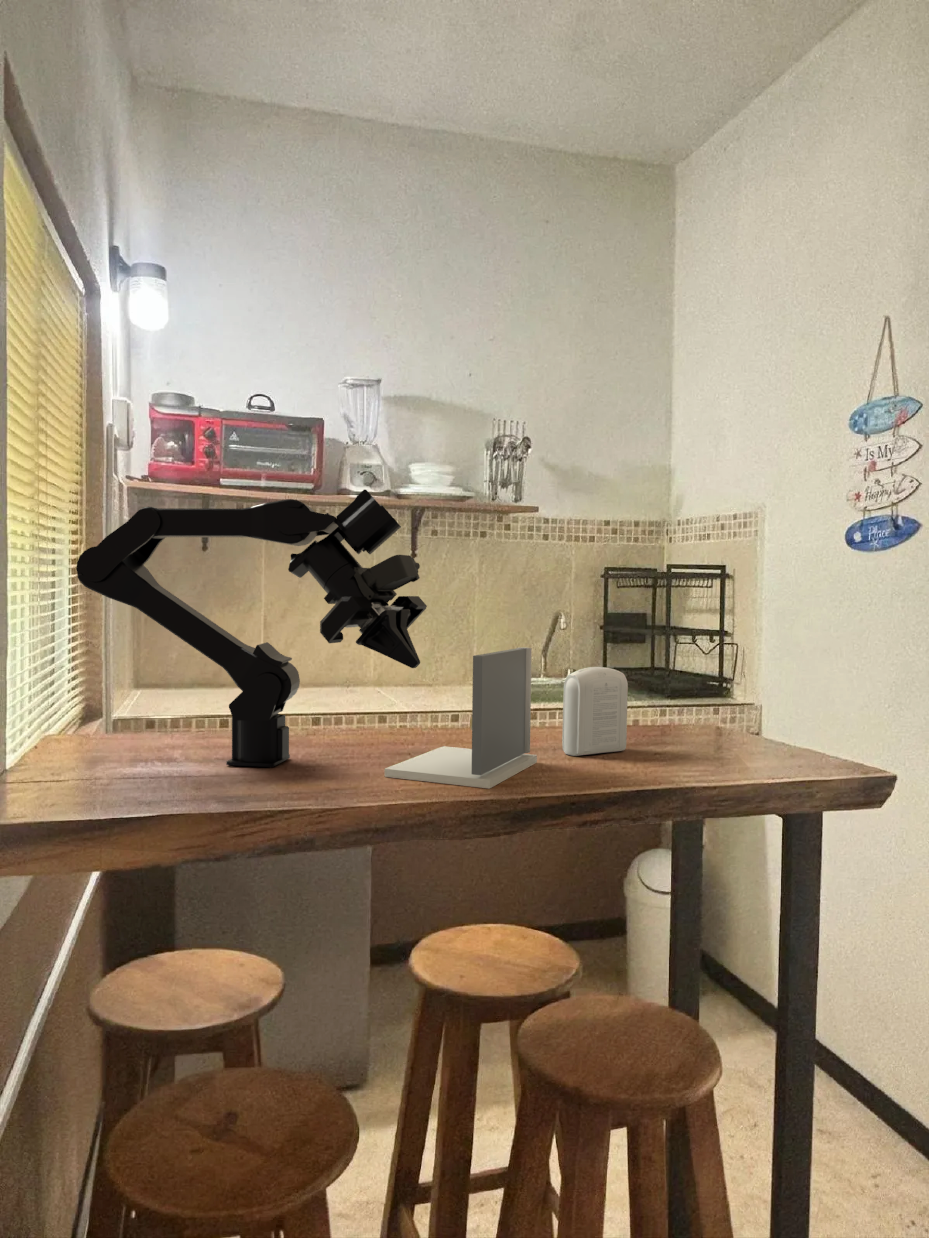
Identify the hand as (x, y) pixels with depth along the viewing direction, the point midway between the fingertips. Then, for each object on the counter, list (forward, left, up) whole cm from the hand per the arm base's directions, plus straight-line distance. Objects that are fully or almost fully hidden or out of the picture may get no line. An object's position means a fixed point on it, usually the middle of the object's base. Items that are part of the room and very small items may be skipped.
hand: (416, 665), depth 108 cm
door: (+10, +2, -12) cm, 16 cm away
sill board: (+6, +3, -14) cm, 15 cm away
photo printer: (+22, +19, -14) cm, 32 cm away
